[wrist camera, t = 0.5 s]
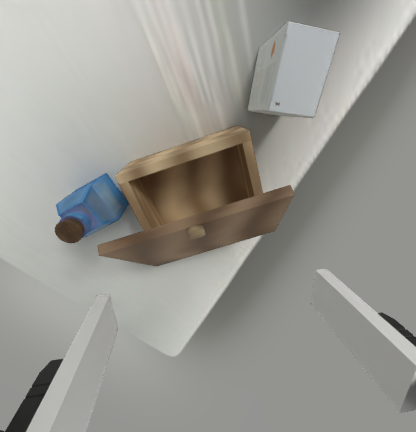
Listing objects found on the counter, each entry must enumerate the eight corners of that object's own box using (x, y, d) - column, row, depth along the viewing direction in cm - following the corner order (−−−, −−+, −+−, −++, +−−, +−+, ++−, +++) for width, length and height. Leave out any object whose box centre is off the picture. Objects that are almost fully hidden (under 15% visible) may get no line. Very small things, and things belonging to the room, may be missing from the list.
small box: (281, 116, 34) (314, 120, 25) (246, 111, 34) (267, 112, 24) (297, 53, 31) (343, 30, 21) (258, 46, 30) (288, 19, 21)
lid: (290, 184, 20) (298, 202, 19) (272, 224, 33) (276, 235, 33) (97, 245, 21) (99, 263, 21) (155, 260, 35) (157, 271, 34)
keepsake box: (237, 125, 34) (249, 130, 27) (255, 204, 41) (269, 224, 33) (130, 162, 36) (114, 175, 29) (163, 232, 42) (158, 258, 35)
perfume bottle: (76, 190, 37) (29, 223, 27) (106, 173, 36) (70, 201, 26) (100, 218, 40) (66, 260, 29) (129, 203, 39) (105, 240, 28)
